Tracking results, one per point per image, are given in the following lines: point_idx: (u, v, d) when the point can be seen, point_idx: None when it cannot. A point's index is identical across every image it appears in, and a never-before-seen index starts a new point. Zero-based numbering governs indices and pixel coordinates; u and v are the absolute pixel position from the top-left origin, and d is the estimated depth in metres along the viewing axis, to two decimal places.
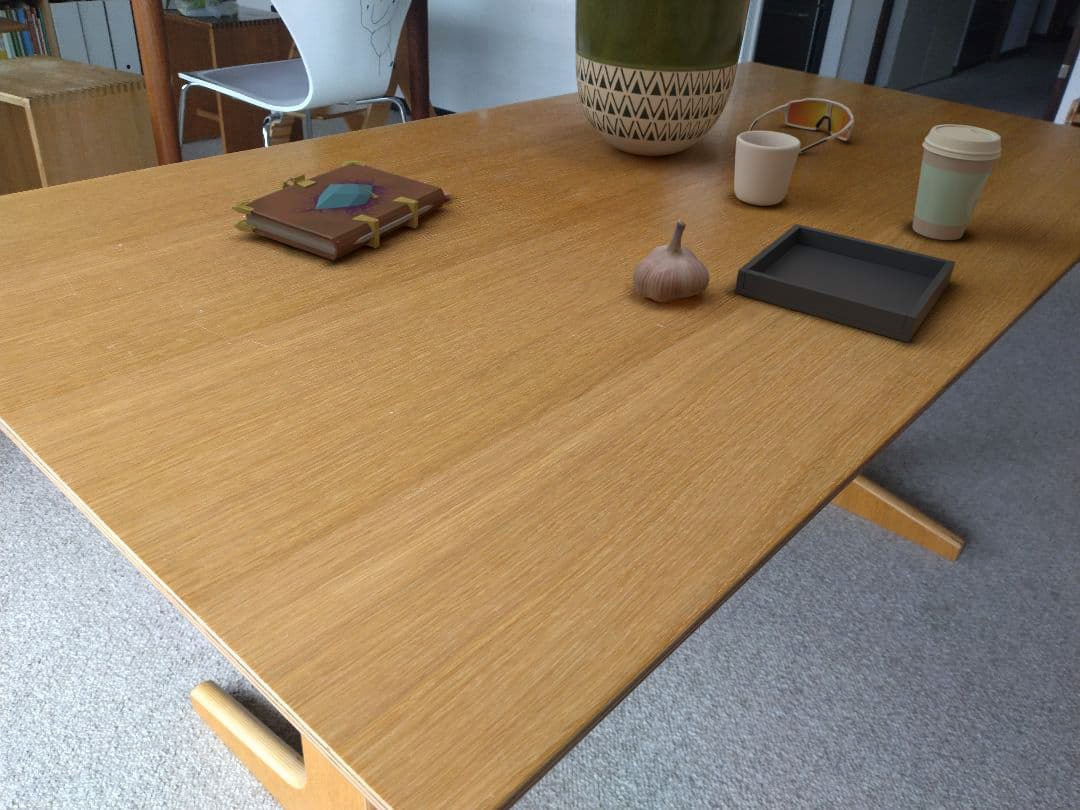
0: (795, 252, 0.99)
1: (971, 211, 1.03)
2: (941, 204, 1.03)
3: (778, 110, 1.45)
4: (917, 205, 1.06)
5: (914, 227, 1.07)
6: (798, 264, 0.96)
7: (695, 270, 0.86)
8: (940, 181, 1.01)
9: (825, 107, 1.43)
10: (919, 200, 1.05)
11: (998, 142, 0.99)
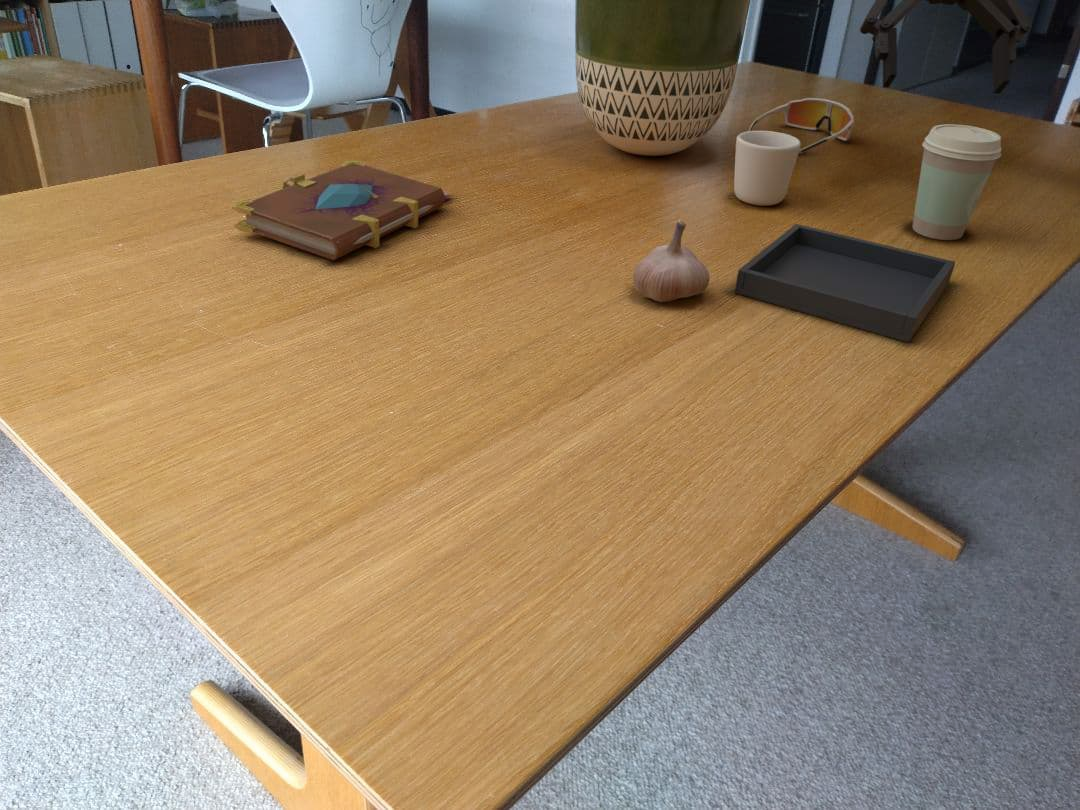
0: (795, 252, 0.99)
1: (971, 211, 1.03)
2: (941, 204, 1.03)
3: (778, 110, 1.45)
4: (917, 205, 1.06)
5: (914, 227, 1.07)
6: (798, 264, 0.96)
7: (695, 270, 0.86)
8: (940, 181, 1.01)
9: (825, 107, 1.43)
10: (919, 200, 1.05)
11: (998, 142, 0.99)
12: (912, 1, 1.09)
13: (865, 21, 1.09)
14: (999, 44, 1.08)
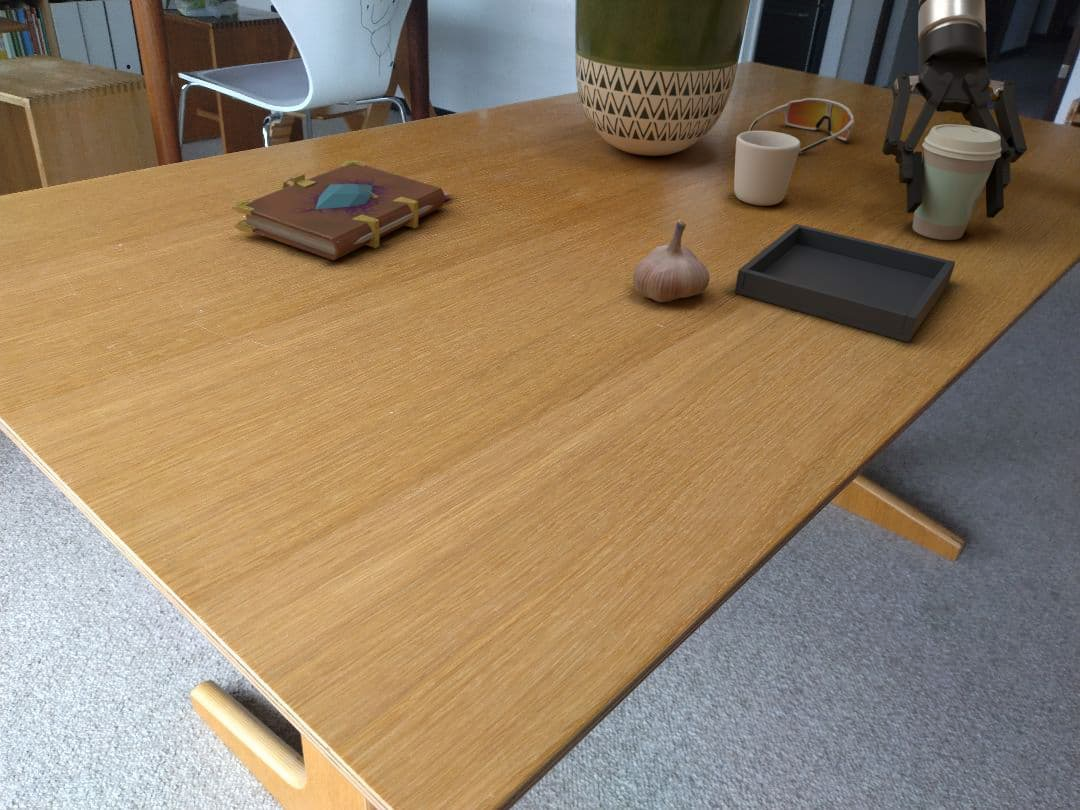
0: (795, 252, 0.99)
1: (971, 211, 1.03)
2: (941, 204, 1.03)
3: (778, 110, 1.45)
4: None
5: (914, 227, 1.07)
6: (798, 264, 0.96)
7: (695, 270, 0.86)
8: (940, 181, 1.01)
9: (825, 107, 1.43)
10: None
11: (998, 142, 0.99)
12: (929, 116, 1.04)
13: (889, 145, 1.04)
14: None
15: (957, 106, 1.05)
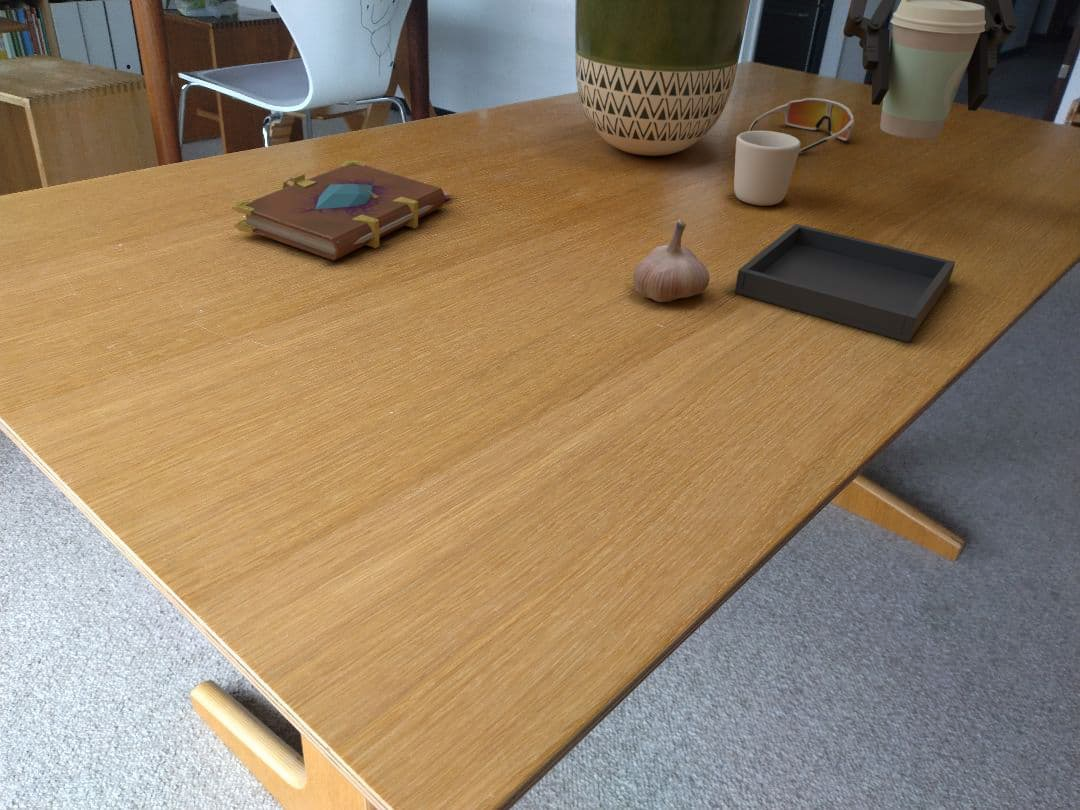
0: (795, 252, 0.99)
1: (949, 102, 0.85)
2: (912, 92, 0.85)
3: (778, 110, 1.45)
4: (885, 98, 0.88)
5: (882, 126, 0.89)
6: (798, 264, 0.96)
7: (695, 270, 0.86)
8: (911, 63, 0.83)
9: (825, 107, 1.43)
10: None
11: (981, 12, 0.81)
12: None
13: (850, 22, 0.86)
14: (975, 47, 0.85)
15: None
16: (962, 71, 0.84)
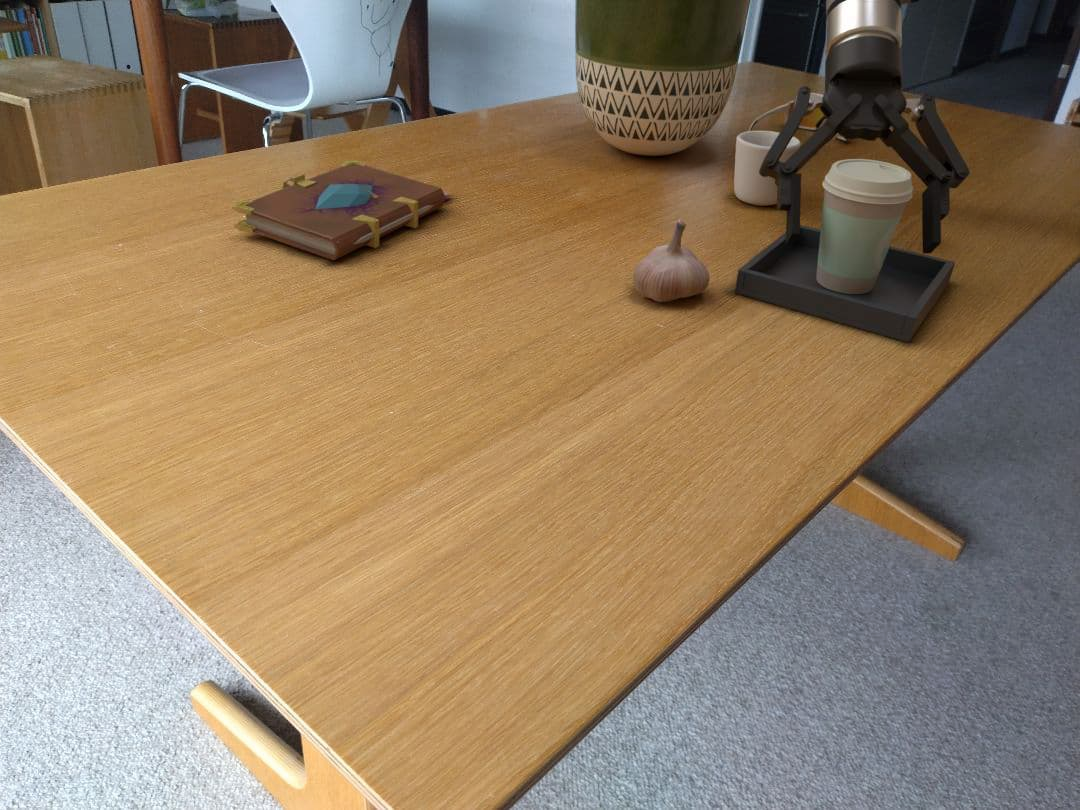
0: (795, 252, 0.99)
1: (880, 261, 0.88)
2: (844, 253, 0.87)
3: (778, 110, 1.45)
4: (819, 253, 0.90)
5: (817, 278, 0.92)
6: (798, 264, 0.96)
7: (695, 270, 0.86)
8: (842, 227, 0.86)
9: None
10: (821, 248, 0.90)
11: (907, 182, 0.83)
12: (821, 139, 0.88)
13: (763, 164, 0.89)
14: (929, 193, 0.87)
15: (867, 133, 0.89)
16: (891, 234, 0.86)
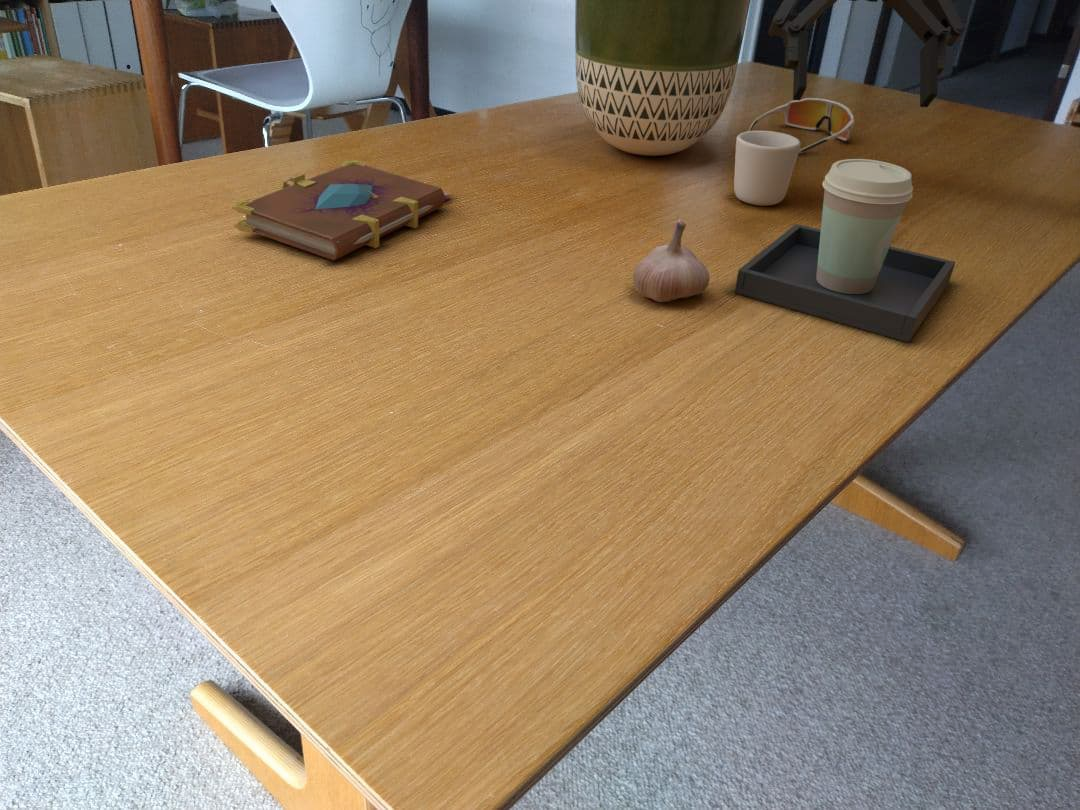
0: (795, 252, 0.99)
1: (880, 261, 0.88)
2: (844, 253, 0.87)
3: (778, 110, 1.45)
4: (819, 253, 0.90)
5: (817, 278, 0.92)
6: (798, 264, 0.96)
7: (695, 270, 0.86)
8: (842, 227, 0.86)
9: (825, 107, 1.43)
10: (821, 248, 0.90)
11: (907, 182, 0.83)
12: None
13: (773, 23, 0.94)
14: (927, 49, 0.94)
15: None
16: (891, 234, 0.86)
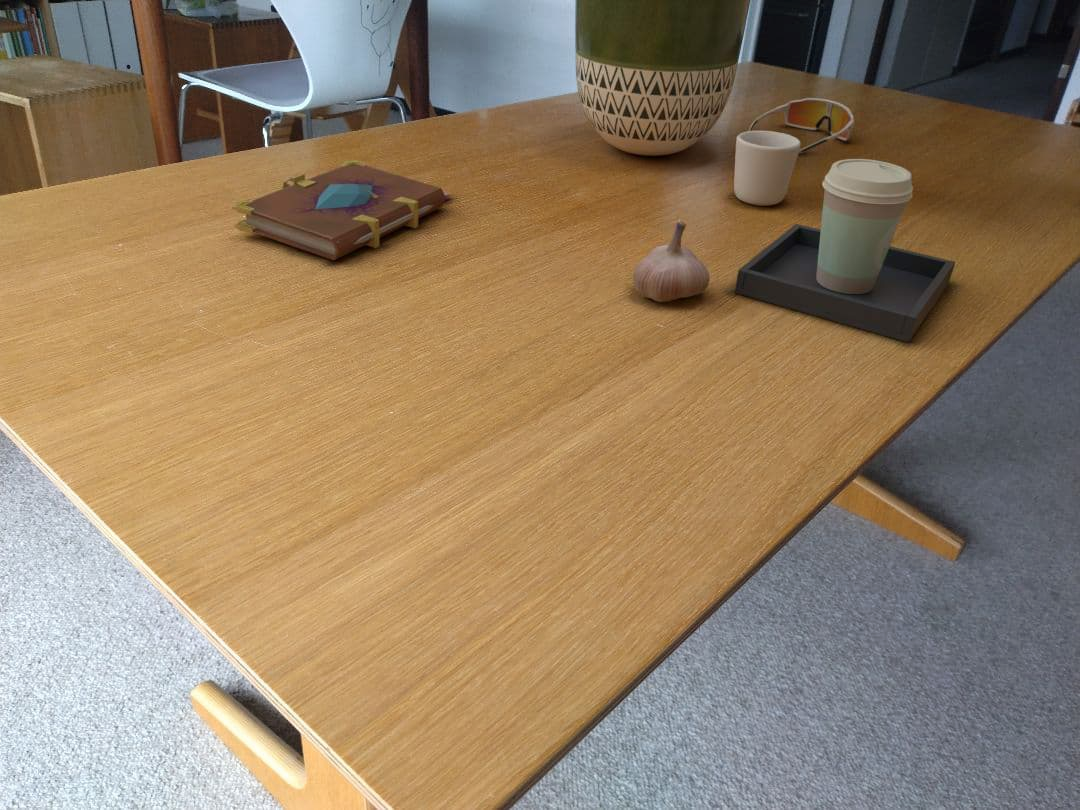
0: (795, 252, 0.99)
1: (880, 261, 0.88)
2: (844, 253, 0.87)
3: (778, 110, 1.45)
4: (819, 253, 0.90)
5: (817, 278, 0.92)
6: (798, 264, 0.96)
7: (695, 270, 0.86)
8: (842, 227, 0.86)
9: (825, 107, 1.43)
10: (821, 248, 0.90)
11: (907, 182, 0.83)
12: None
13: None
14: None
15: None
16: (891, 234, 0.86)
